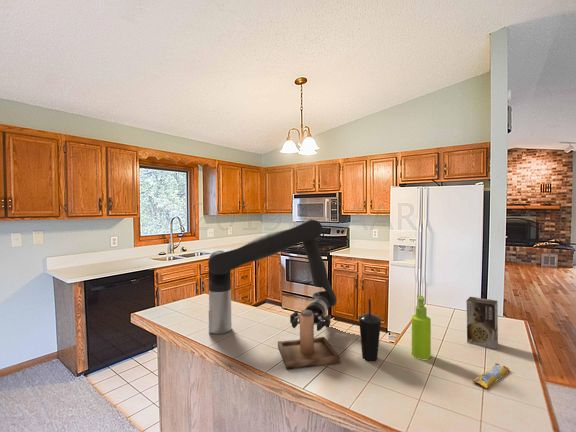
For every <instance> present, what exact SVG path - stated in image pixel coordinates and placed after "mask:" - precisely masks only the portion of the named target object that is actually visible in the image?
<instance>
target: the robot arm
mask: <svg viewBox="0 0 576 432" xmlns="http://www.w3.org/2000/svg"><path fill="white" fill-rule="evenodd" d="M322 233H323V225H322V224H321V222H319V220H316V219H307V220H305V221H303V222H302V223H301V224H298V225H296V226H294V227H291V228H288V229H287V228H286V229H283V230H280V231H279V230H278V231H275V232H272V233H271V232H270V233H267V234H264V235H261V236H258V237H256V238H254V239H252V240H250V241H249V242H247V243H246V244H244V245H242V246H239V247H237V248H234V249H231V250H227V251H224V250H216V251H213V252H212V253H211V254H210V255H209V258H208V262H207V265H208V334H214V335H222V334H227V333H228V332H230V331H231V330H233V329H232V324H233V323H232V277H231V273H232V272H231V271H232V270H235V269H236V268H238V267H241V266H243V265H246V264H248V263H252V262H256V261H259V260H262V259H266V258H268V257H270V256H274V255H276V254H278V253H281V252H283V251H285V250H287V249H289V248H291V247H293V246H296V245H298V244H300V243H301V244H303V247H304V250H305V253H306V257H307V260H308V264H309V265H308V266H309V271H310V275H311V280H312V284H313V286H314V287H316V288H322V289H323V290H322V291H315V292H314V293H313V294H312V301H311V302H310V303H309V304H308V305H307V306H306V308H305V309H304V310H311V311H312V313H313V317H314V326H316V331H317V332H319V331H321V330H323V328H324V327H325V328H327V329H328V328H330V326H331V323H332V322H331V319H332V318H331V317H332V316H331V314H327V312H328V310H329V308H331V307H335V306H336V304H337V301H338V300H337V295H336V294H335V291H334V289H333V288H332V286H331V284H330V281H329V276H328V273H327V268H326V264H325V261H324V259H323V257H322V255H321V251H320V248H319V245H318V238H320V236H321V235H322ZM289 321H290V322H289V323H290V324H291V327H292V328H293V329H296V328H297V327H298V325H300V313H299V312H298V311H296V310H295V311H294V312H293V313H292V314H291V315H289Z"/></svg>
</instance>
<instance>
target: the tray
mask: <svg viewBox="0 0 576 432" xmlns="http://www.w3.org/2000/svg"><path fill="white" fill-rule="evenodd" d="M277 349H278V351H279V353H280V356H281V359H282V361H283V364H284V367H285V370H286V371H291V370H297V369H299V370H300V369H306V368H315V367H321V366H330V365H339V364H341V356H340V355H339V353H338V352H337V351H336V350H335V349H334V347H333V346H332V345H331V344H330V342H329V341H328V339H327V338H326V337H325V336H321V337H314V353H313V354H311V355H304V354H301V352H300V338H299V339H291V340H290V339H289V340H282V341H279V340H278V341H277Z"/></svg>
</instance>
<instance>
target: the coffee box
mask: <svg viewBox="0 0 576 432" xmlns="http://www.w3.org/2000/svg"><path fill="white" fill-rule="evenodd" d="M465 301H466V343H469V344H473V345H475V346H481V347H484V348H489V349H493V350H496V349H497V347H498V346H499V345H498V344H499V332H498V331H499V325H498V324H499V320H498V319H499V318H498V300H493V299H488V298H481V297H475V296H469V298H468V297H467V299H466V300H465Z"/></svg>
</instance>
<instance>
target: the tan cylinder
mask: <svg viewBox="0 0 576 432" xmlns="http://www.w3.org/2000/svg"><path fill="white" fill-rule="evenodd" d="M299 314H300V324H299V339H300V352H301V354H304V355H311V354H313V353H314V338H315V329H314V326H315V325H314V317H313V313H312V311H311V310H305V309H302V310H301V311H300V313H299Z"/></svg>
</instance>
